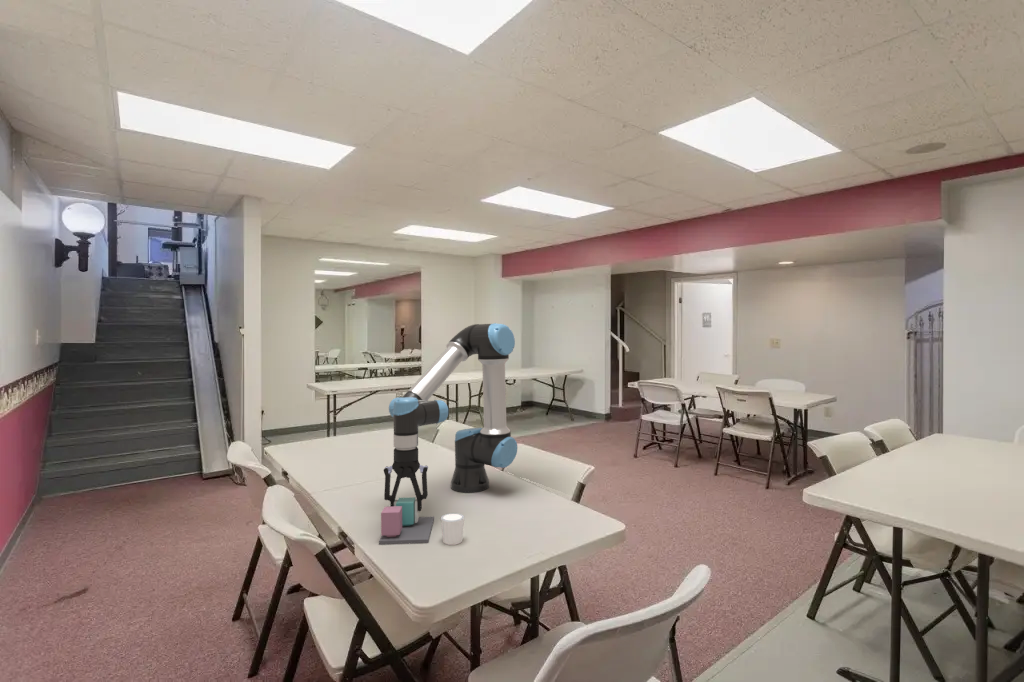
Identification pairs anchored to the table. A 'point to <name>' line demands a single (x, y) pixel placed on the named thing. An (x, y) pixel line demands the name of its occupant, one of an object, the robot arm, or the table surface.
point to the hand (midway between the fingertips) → (406, 521)
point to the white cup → (452, 528)
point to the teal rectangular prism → (407, 509)
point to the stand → (403, 528)
